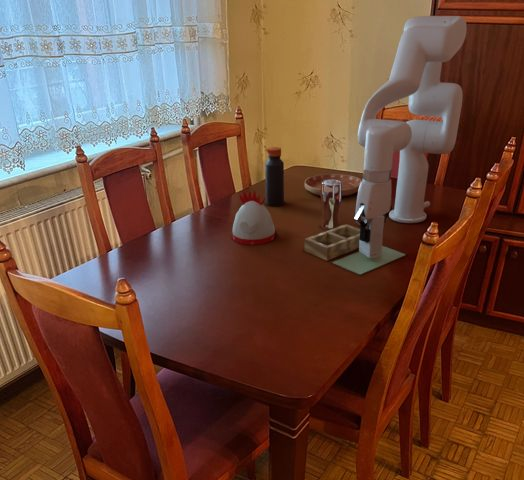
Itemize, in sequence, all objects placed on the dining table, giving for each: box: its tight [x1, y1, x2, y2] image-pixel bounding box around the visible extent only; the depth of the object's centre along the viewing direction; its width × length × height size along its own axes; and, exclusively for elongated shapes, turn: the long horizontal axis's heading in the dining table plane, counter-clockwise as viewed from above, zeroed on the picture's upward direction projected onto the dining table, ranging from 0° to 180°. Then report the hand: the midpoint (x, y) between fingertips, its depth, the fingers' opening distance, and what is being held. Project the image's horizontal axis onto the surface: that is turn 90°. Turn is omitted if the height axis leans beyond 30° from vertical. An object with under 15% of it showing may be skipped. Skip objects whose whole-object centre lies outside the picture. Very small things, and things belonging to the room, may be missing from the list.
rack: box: [303, 223, 360, 261], centre depth 167 cm, size 18×10×4 cm, turn 129°
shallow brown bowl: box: [304, 173, 363, 197], centre depth 214 cm, size 23×23×4 cm
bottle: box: [264, 146, 285, 207], centre depth 199 cm, size 7×7×20 cm
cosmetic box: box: [358, 215, 385, 258], centre depth 156 cm, size 6×4×12 cm
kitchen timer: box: [232, 190, 276, 246], centre depth 174 cm, size 14×14×15 cm
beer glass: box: [319, 179, 343, 231], centre depth 179 cm, size 7×7×15 cm
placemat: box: [332, 245, 407, 276], centre depth 160 cm, size 20×11×1 cm, turn 129°
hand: (371, 237), depth 157 cm, fingers closed on cosmetic box, 5 cm apart
